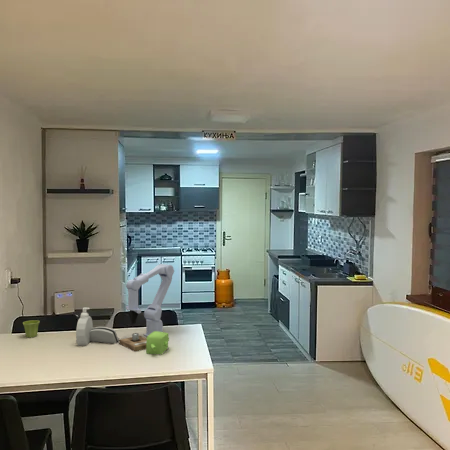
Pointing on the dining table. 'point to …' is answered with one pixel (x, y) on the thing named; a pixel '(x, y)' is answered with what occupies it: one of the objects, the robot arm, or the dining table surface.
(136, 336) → the mottled grey cylinder
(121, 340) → the jig
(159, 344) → the gearbox
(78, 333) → the soap bottle
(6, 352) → the dining table surface
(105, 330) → the grey rounded piece
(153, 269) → the robot arm
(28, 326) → the plant pot
